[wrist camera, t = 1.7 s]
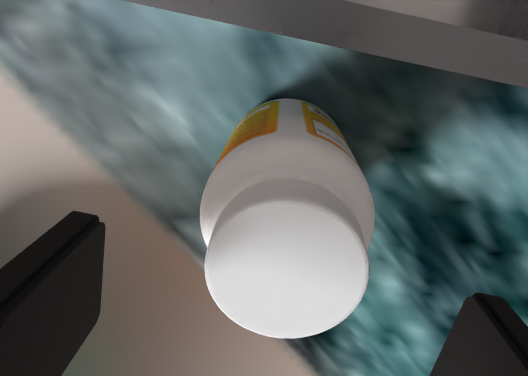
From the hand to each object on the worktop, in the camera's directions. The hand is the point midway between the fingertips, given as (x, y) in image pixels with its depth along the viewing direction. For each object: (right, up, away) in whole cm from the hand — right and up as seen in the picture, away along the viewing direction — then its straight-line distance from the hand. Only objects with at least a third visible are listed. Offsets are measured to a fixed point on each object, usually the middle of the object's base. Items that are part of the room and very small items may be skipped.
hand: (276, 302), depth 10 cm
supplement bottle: (+1, +5, +9) cm, 10 cm away
